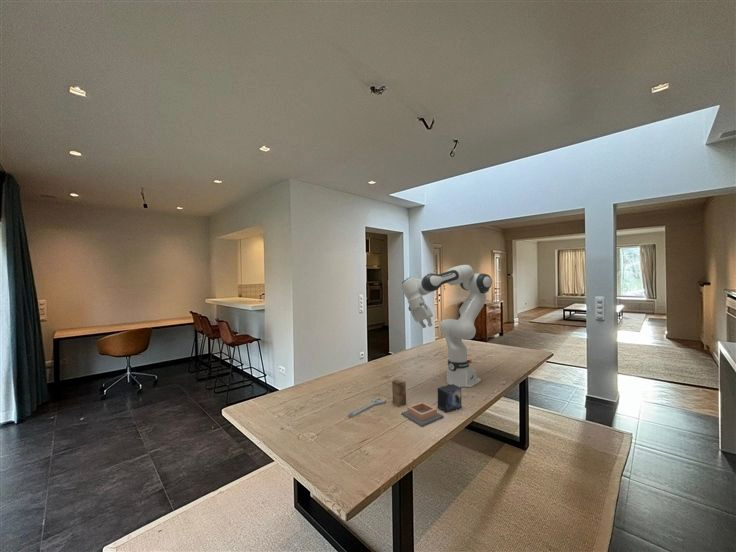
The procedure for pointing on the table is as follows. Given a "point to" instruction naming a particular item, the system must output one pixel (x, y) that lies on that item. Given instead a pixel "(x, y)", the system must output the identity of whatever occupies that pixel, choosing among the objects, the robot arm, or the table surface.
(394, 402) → the walnut block
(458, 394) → the small box
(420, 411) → the dock
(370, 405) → the adjustable wrench
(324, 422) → the table surface
